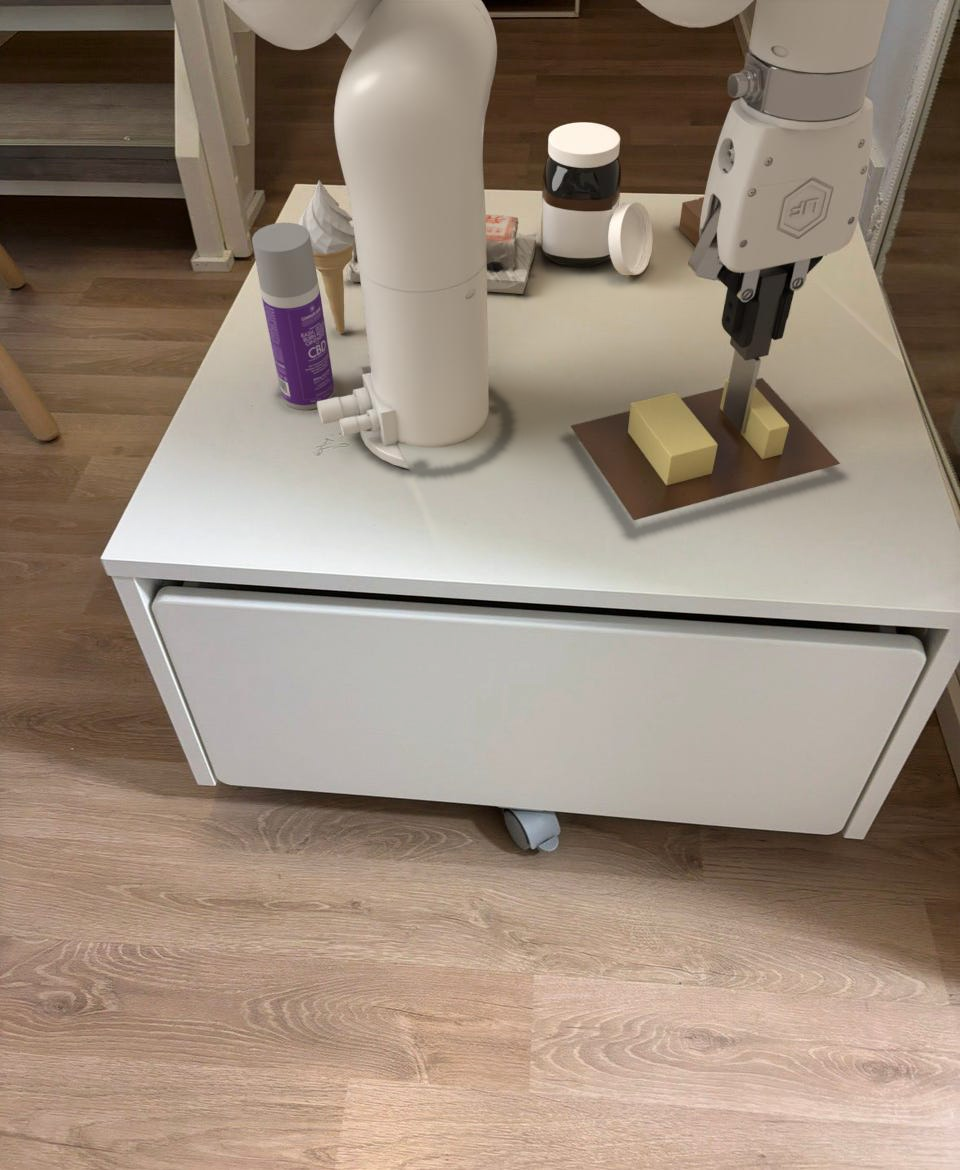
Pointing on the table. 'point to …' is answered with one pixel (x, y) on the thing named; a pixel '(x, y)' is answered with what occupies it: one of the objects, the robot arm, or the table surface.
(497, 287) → the packaged product
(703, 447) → the butter block
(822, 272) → the table surface
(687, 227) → the knife block
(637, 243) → the spread jar
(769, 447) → the butter slice
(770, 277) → the knife
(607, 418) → the board
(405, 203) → the robot arm
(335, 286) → the ice cream cone
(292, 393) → the container
